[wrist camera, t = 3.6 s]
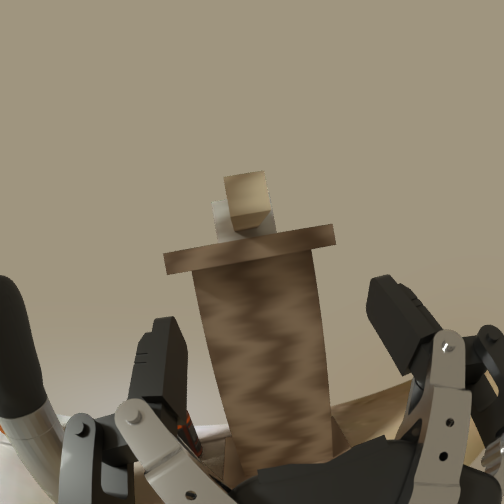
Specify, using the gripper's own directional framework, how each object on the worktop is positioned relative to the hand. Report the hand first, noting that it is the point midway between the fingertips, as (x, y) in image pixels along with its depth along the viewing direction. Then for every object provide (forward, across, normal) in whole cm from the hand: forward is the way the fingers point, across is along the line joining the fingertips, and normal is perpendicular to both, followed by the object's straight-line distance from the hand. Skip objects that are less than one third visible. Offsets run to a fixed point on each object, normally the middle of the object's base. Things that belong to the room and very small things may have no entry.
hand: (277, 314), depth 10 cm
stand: (+3, 0, +35) cm, 35 cm away
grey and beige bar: (+15, 0, +4) cm, 15 cm away
